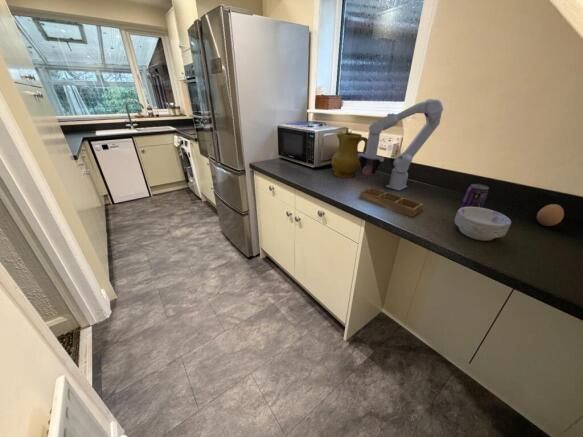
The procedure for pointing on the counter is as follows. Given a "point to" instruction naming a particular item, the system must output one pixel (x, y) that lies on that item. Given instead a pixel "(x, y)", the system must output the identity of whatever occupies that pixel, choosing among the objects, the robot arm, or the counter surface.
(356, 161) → the pitcher
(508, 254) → the counter surface
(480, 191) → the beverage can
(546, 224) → the egg
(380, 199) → the tray
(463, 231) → the paper bowls
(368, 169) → the vegetable
